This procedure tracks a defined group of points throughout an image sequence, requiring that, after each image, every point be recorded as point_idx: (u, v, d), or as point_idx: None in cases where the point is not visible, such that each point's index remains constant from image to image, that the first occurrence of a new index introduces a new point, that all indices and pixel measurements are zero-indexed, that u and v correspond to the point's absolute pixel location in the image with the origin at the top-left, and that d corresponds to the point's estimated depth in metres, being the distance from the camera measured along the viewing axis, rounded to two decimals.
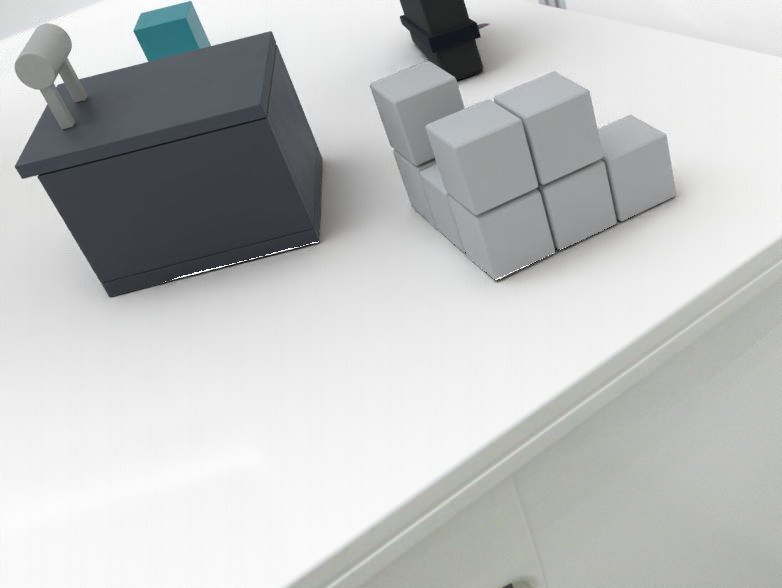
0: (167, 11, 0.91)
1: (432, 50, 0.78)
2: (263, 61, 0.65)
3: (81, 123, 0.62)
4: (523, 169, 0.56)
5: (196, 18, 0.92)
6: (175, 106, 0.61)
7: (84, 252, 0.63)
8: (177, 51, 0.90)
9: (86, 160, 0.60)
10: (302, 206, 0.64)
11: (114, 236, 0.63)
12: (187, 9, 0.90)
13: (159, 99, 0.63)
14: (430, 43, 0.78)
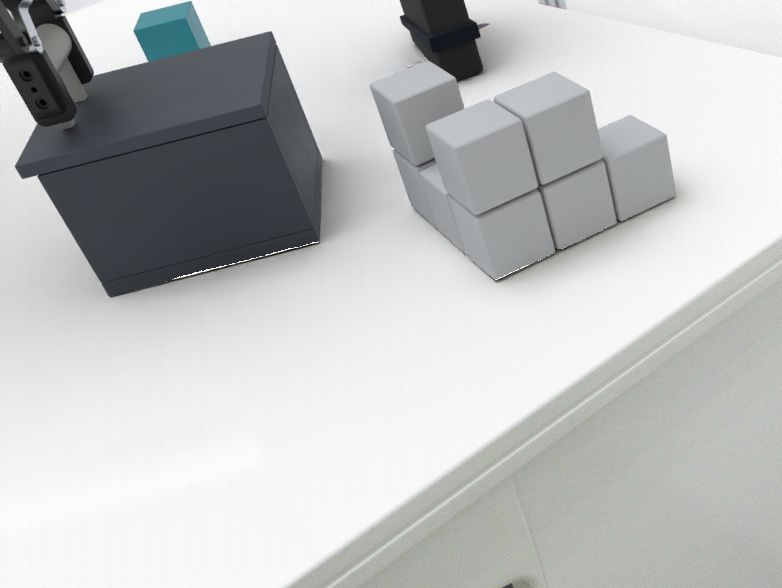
0: (167, 11, 0.91)
1: (432, 50, 0.78)
2: (263, 61, 0.65)
3: (81, 123, 0.62)
4: (523, 169, 0.56)
5: (196, 18, 0.92)
6: (175, 106, 0.61)
7: (84, 252, 0.63)
8: (177, 51, 0.90)
9: (86, 160, 0.60)
10: (302, 206, 0.64)
11: (114, 236, 0.63)
12: (187, 9, 0.90)
13: (159, 99, 0.63)
14: (430, 43, 0.78)
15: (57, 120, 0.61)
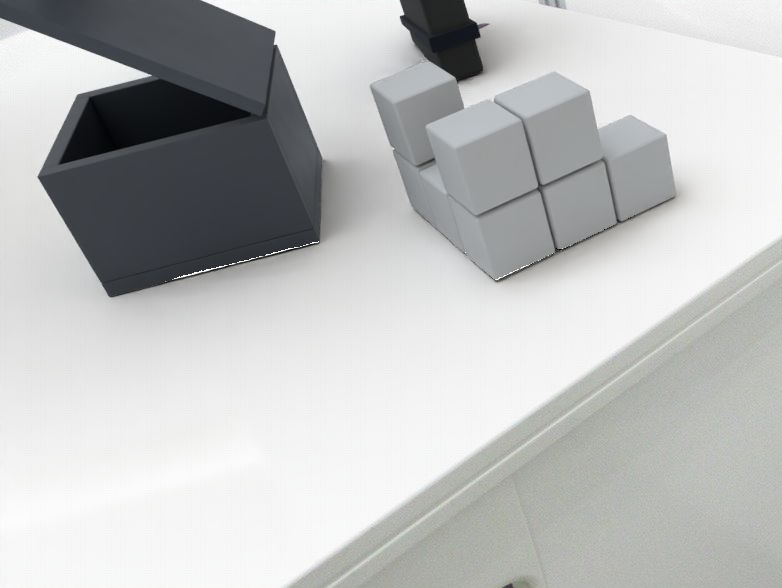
0: None
1: (432, 50, 0.78)
2: (267, 59, 0.64)
3: None
4: (523, 169, 0.56)
5: None
6: (173, 47, 0.59)
7: (84, 252, 0.63)
8: None
9: (62, 38, 0.56)
10: (302, 206, 0.64)
11: (114, 236, 0.63)
12: None
13: (154, 26, 0.60)
14: (430, 43, 0.78)
15: None
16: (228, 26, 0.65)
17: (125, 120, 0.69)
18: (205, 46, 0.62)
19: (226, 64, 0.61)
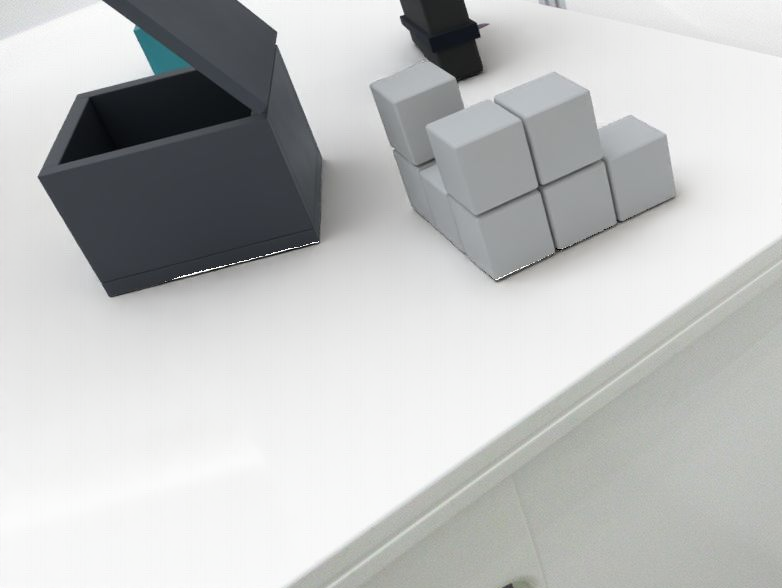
0: None
1: (432, 50, 0.78)
2: (270, 59, 0.65)
3: None
4: (523, 169, 0.56)
5: None
6: (188, 23, 0.59)
7: (84, 252, 0.63)
8: None
9: None
10: (302, 206, 0.64)
11: (114, 236, 0.63)
12: None
13: None
14: (430, 43, 0.78)
15: None
16: (236, 15, 0.65)
17: (125, 120, 0.69)
18: (216, 30, 0.61)
19: (234, 54, 0.61)
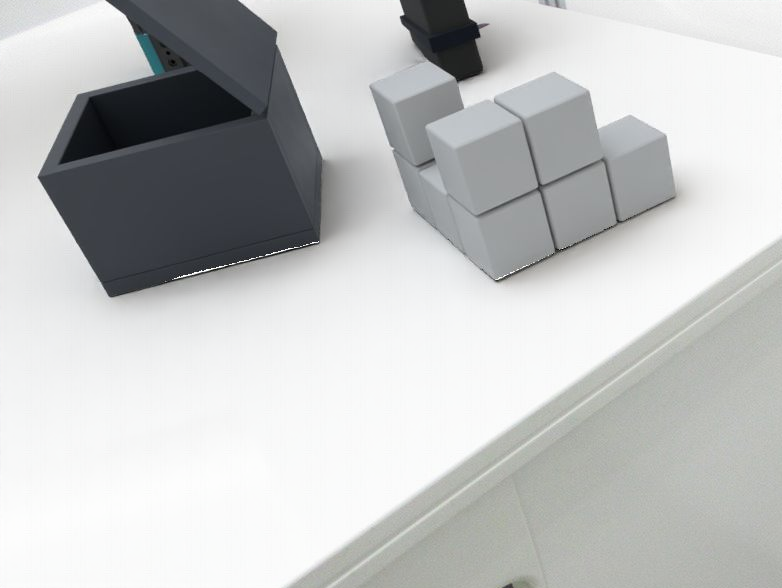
0: None
1: (432, 50, 0.78)
2: (270, 59, 0.65)
3: None
4: (523, 169, 0.56)
5: None
6: (188, 22, 0.59)
7: (84, 252, 0.63)
8: None
9: None
10: (302, 206, 0.64)
11: (114, 236, 0.63)
12: None
13: None
14: (430, 43, 0.78)
15: None
16: (236, 15, 0.65)
17: (125, 120, 0.69)
18: (216, 29, 0.61)
19: (234, 54, 0.61)
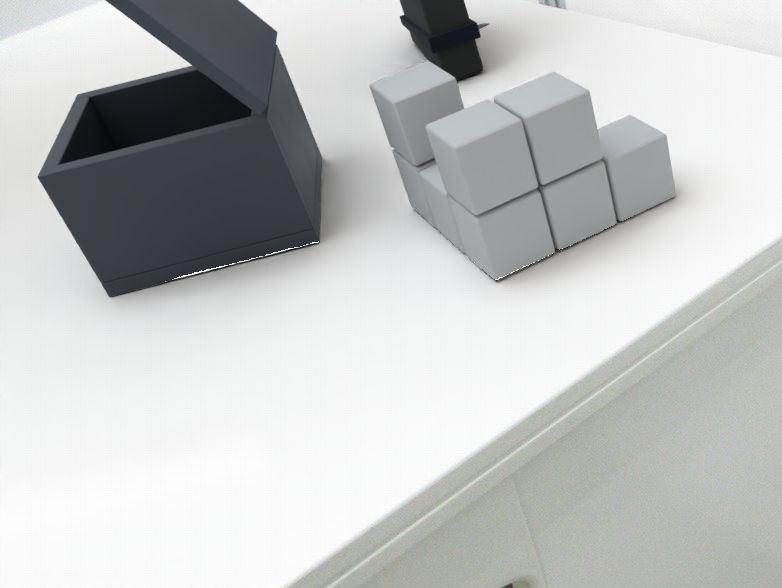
0: None
1: (432, 50, 0.78)
2: (270, 59, 0.65)
3: None
4: (523, 169, 0.56)
5: None
6: (188, 22, 0.59)
7: (84, 252, 0.63)
8: None
9: None
10: (302, 206, 0.64)
11: (114, 236, 0.63)
12: None
13: None
14: (430, 43, 0.78)
15: None
16: (236, 15, 0.65)
17: (125, 120, 0.69)
18: (216, 29, 0.61)
19: (234, 54, 0.61)
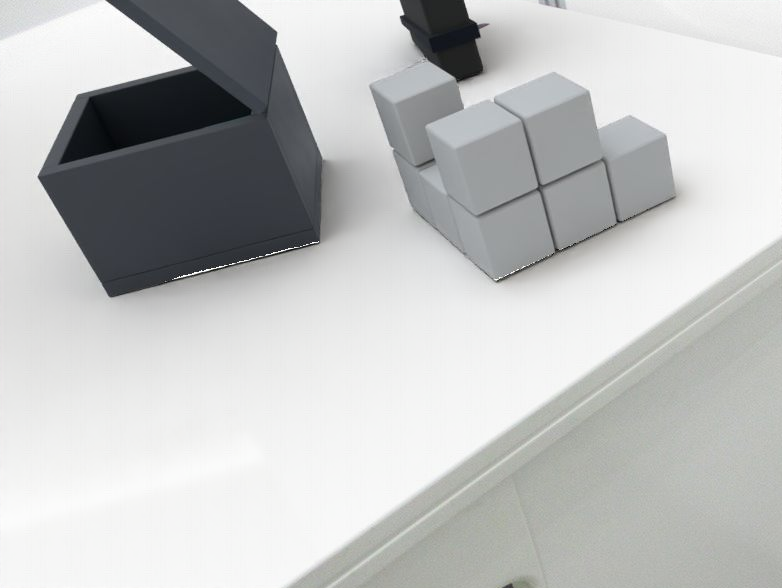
0: None
1: (432, 50, 0.78)
2: (270, 59, 0.65)
3: None
4: (523, 169, 0.56)
5: None
6: (188, 22, 0.59)
7: (84, 252, 0.63)
8: None
9: None
10: (302, 206, 0.64)
11: (114, 236, 0.63)
12: None
13: None
14: (430, 43, 0.78)
15: None
16: (236, 15, 0.65)
17: (125, 120, 0.69)
18: (216, 29, 0.61)
19: (234, 54, 0.61)
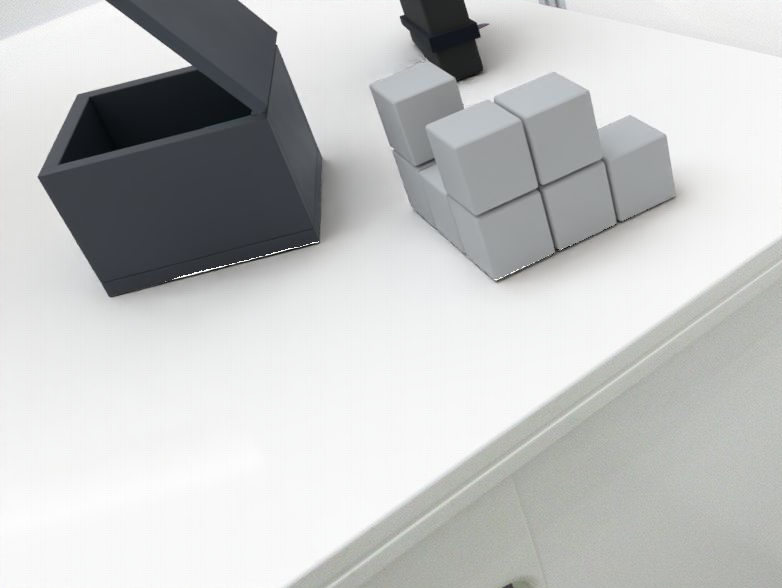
0: None
1: (432, 50, 0.78)
2: (270, 59, 0.65)
3: None
4: (523, 169, 0.56)
5: None
6: (188, 22, 0.59)
7: (84, 252, 0.63)
8: None
9: None
10: (302, 206, 0.64)
11: (114, 236, 0.63)
12: None
13: None
14: (430, 43, 0.78)
15: None
16: (236, 15, 0.65)
17: (125, 120, 0.69)
18: (216, 29, 0.61)
19: (234, 54, 0.61)
